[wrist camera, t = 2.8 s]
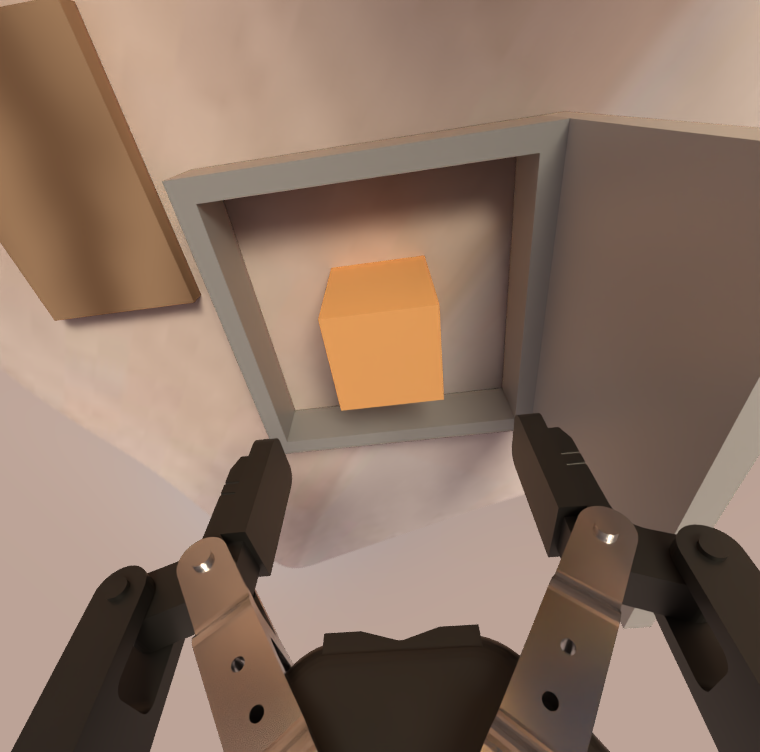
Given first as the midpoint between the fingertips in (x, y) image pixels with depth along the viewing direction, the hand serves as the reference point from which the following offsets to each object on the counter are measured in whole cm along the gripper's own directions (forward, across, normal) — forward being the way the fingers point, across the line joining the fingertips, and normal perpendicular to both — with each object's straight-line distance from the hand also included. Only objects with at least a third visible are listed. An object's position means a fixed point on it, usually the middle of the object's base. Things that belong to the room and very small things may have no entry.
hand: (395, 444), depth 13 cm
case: (+11, 0, 0) cm, 11 cm away
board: (+11, +14, -8) cm, 20 cm away
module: (+11, 0, 0) cm, 11 cm away
